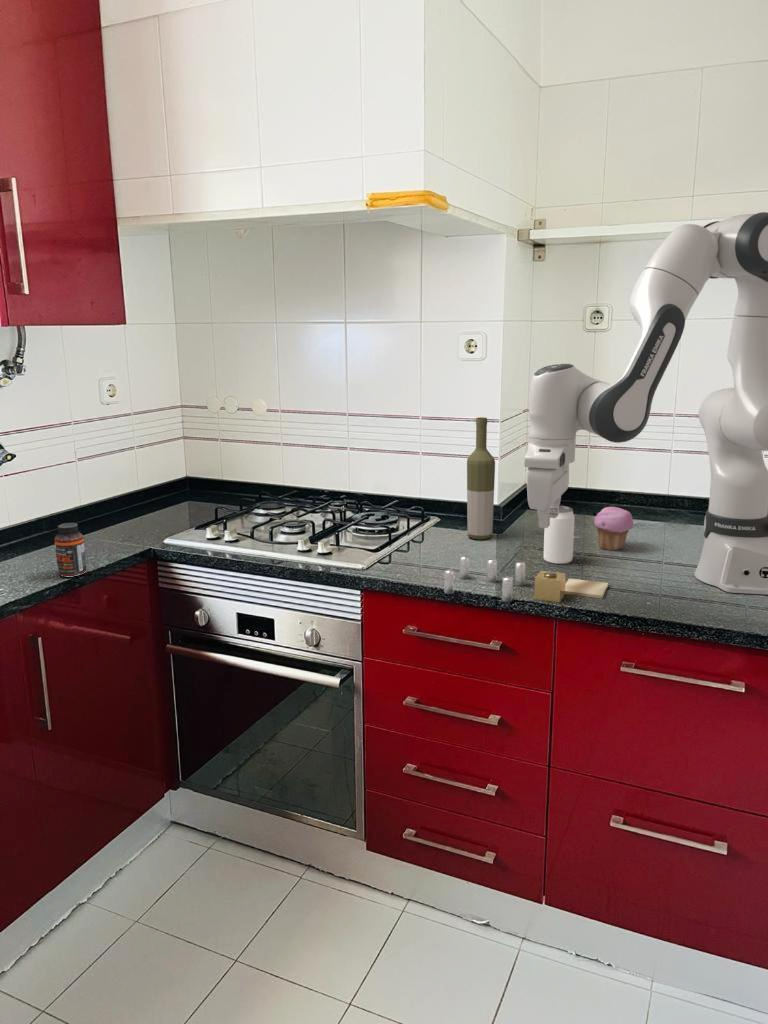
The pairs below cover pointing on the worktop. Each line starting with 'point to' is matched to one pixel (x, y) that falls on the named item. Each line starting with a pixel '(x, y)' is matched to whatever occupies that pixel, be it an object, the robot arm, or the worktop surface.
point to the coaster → (585, 588)
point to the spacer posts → (491, 577)
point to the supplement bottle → (70, 550)
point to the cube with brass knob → (549, 586)
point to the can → (560, 537)
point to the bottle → (480, 486)
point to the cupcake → (613, 527)
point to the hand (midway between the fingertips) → (548, 522)
